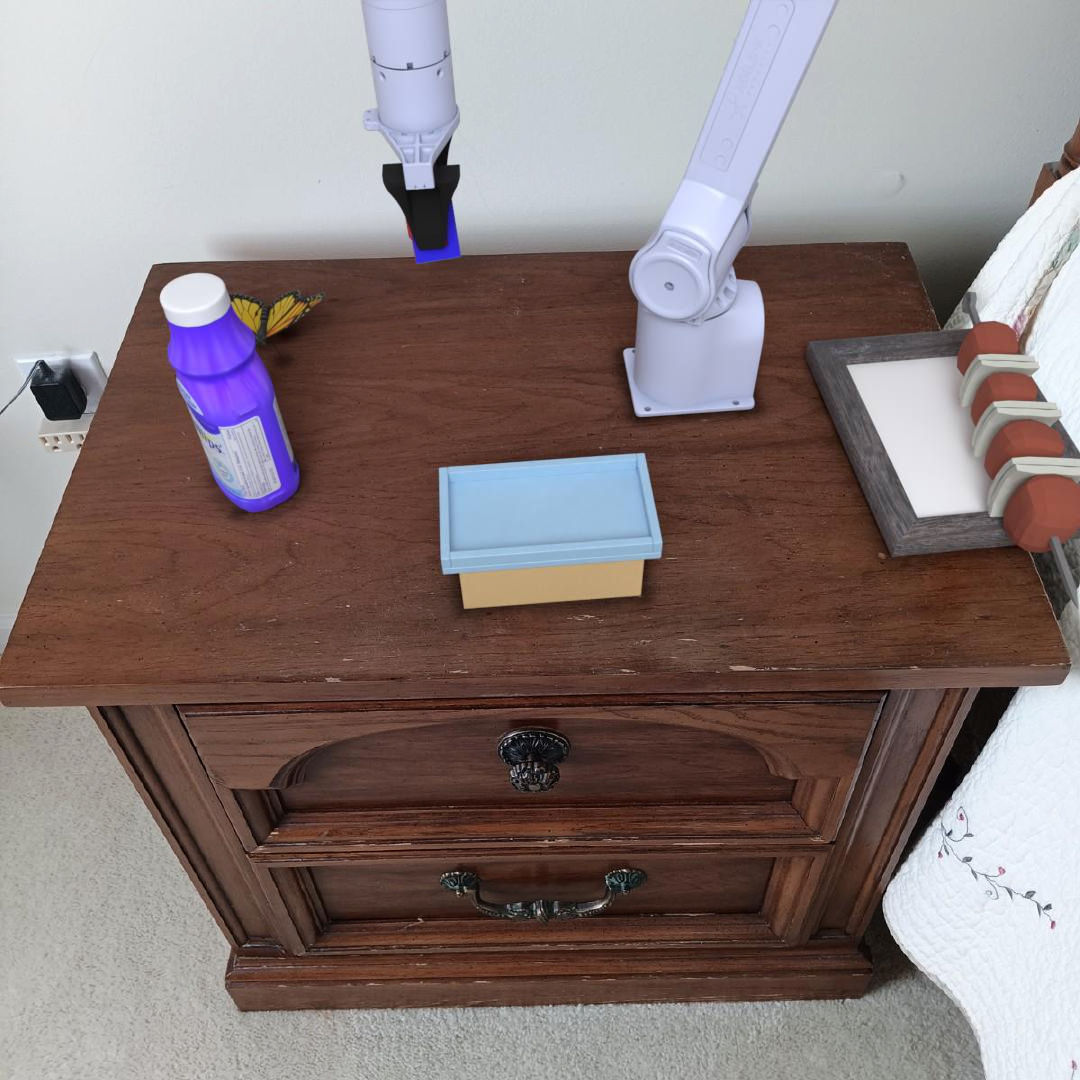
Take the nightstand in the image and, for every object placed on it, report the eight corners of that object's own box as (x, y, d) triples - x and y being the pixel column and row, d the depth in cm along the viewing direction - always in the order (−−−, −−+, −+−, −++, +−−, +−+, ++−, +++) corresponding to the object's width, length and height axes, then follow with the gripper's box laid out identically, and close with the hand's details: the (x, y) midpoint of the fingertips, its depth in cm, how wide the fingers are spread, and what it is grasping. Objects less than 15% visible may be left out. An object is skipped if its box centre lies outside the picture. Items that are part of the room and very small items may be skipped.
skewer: (984, 321, 82) (1097, 633, 63) (927, 319, 82) (1023, 630, 63) (1008, 269, 78) (1137, 585, 59) (948, 267, 78) (1058, 583, 59)
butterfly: (188, 386, 83) (169, 337, 79) (204, 319, 88) (187, 271, 84) (333, 377, 83) (321, 329, 79) (339, 311, 89) (329, 263, 85)
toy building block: (455, 251, 83) (438, 149, 80) (461, 256, 80) (444, 149, 76) (412, 258, 83) (394, 155, 80) (416, 264, 79) (397, 156, 76)
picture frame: (999, 325, 82) (1123, 520, 69) (991, 345, 84) (1110, 539, 70) (808, 341, 81) (897, 542, 68) (804, 360, 82) (890, 561, 69)
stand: (639, 510, 73) (644, 452, 68) (656, 599, 68) (663, 542, 63) (447, 525, 72) (438, 467, 68) (449, 615, 67) (440, 559, 63)
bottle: (203, 473, 76) (125, 281, 63) (270, 440, 78) (208, 247, 65) (247, 530, 73) (174, 339, 59) (316, 493, 75) (260, 301, 61)
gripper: (357, 10, 75) (384, 178, 85) (347, 105, 65) (378, 280, 76) (452, 5, 75) (467, 172, 85) (455, 99, 66) (472, 274, 76)
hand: (431, 223), depth 81 cm, fingers closed on toy building block, 6 cm apart
